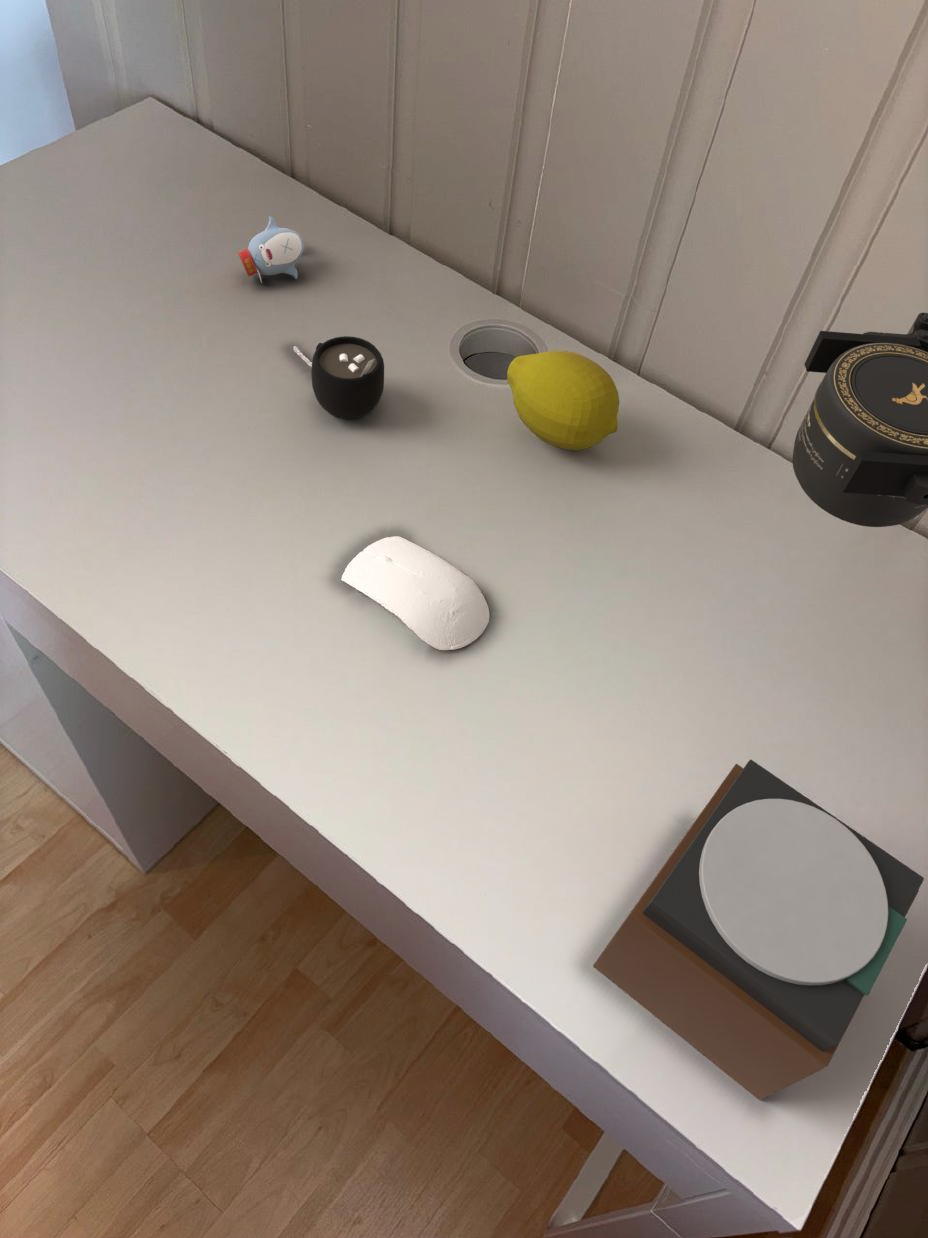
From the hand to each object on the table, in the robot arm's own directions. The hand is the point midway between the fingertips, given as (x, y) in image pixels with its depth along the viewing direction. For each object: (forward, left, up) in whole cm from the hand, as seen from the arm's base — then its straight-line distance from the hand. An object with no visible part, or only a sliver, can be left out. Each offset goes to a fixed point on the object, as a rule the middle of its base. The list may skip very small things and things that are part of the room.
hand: (831, 408), depth 60 cm
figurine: (+52, +19, -22) cm, 60 cm away
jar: (-2, -4, -6) cm, 8 cm away
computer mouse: (+10, +22, -22) cm, 33 cm away
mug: (+34, +20, -22) cm, 45 cm away
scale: (-23, +15, -22) cm, 35 cm away
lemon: (+22, +3, -22) cm, 31 cm away
